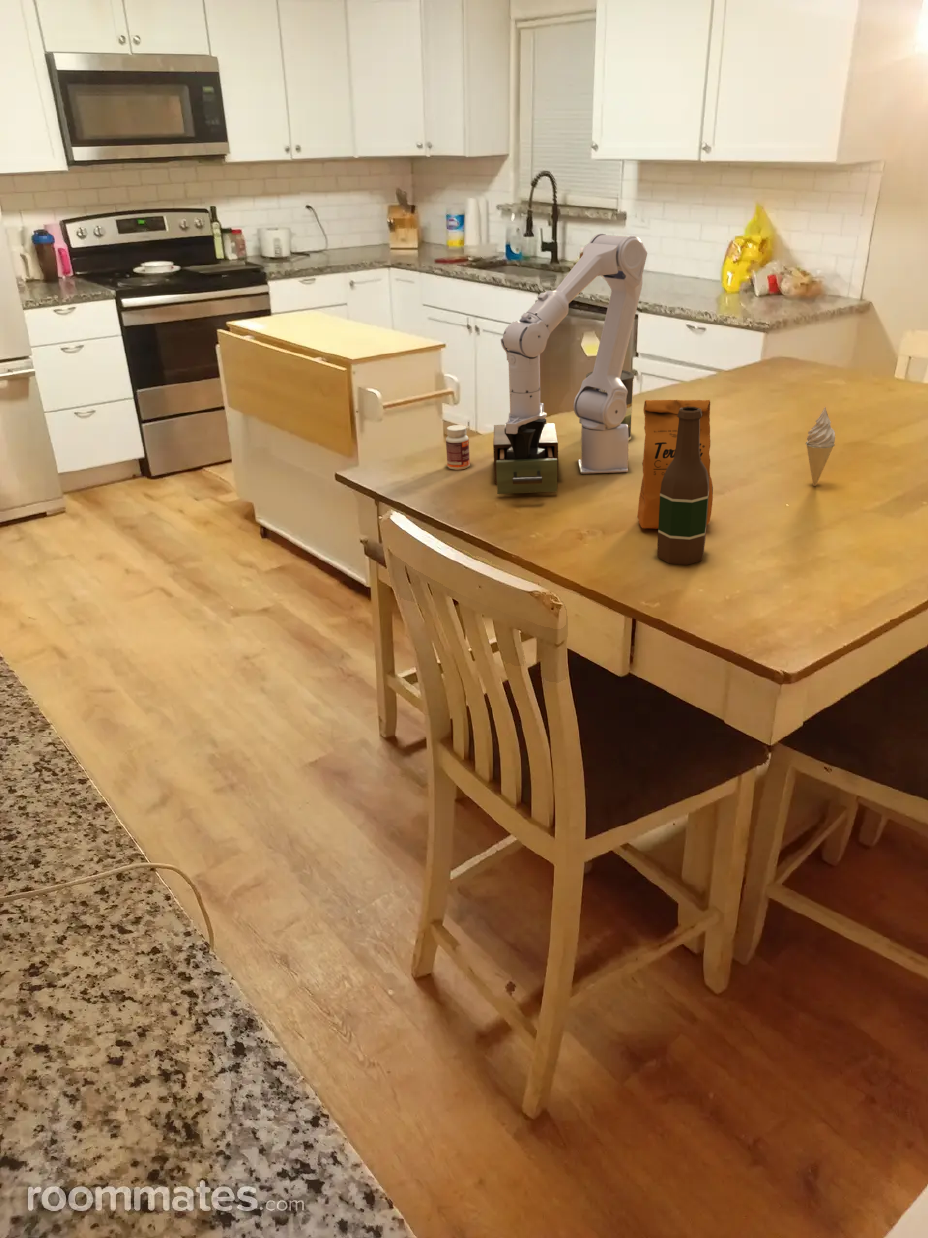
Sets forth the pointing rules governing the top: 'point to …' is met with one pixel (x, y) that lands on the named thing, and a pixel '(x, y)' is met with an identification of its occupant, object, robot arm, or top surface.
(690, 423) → the beer bottle
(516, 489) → the drawer
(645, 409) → the coffee package
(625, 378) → the coffee can
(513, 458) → the dark brown box
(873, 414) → the top surface
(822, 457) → the ice cream cone
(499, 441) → the cabinet
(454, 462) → the pill bottle
